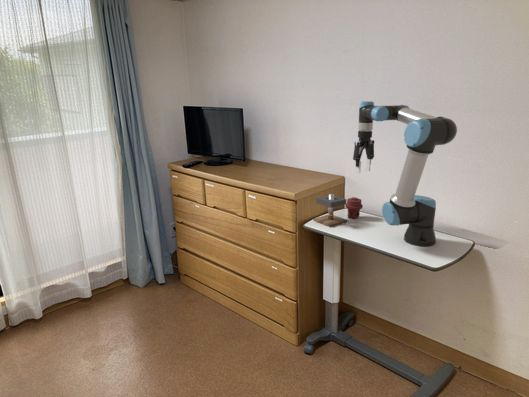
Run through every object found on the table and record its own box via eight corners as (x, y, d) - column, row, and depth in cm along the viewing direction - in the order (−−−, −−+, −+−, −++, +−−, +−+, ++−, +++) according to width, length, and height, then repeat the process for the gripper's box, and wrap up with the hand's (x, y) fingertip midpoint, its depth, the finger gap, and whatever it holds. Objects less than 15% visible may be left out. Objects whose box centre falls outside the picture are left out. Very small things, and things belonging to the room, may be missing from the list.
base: (347, 222, 235) (347, 220, 234) (330, 227, 227) (330, 224, 226) (330, 216, 246) (330, 214, 245) (313, 220, 238) (313, 218, 237)
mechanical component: (342, 218, 242) (349, 214, 249) (357, 221, 236) (364, 217, 244) (342, 198, 238) (350, 195, 246) (358, 201, 233) (365, 197, 240)
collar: (346, 204, 232) (346, 199, 231) (330, 207, 225) (331, 202, 224) (331, 199, 241) (331, 194, 240) (316, 203, 235) (316, 198, 234)
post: (334, 219, 235) (335, 194, 231) (330, 220, 234) (331, 195, 230) (330, 218, 238) (331, 193, 234) (326, 219, 236) (327, 194, 232)
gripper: (372, 128, 229) (369, 168, 235) (347, 131, 218) (345, 172, 224) (382, 129, 223) (380, 170, 229) (357, 132, 212) (355, 175, 218)
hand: (362, 171), depth 227 cm, fingers open, 7 cm apart
